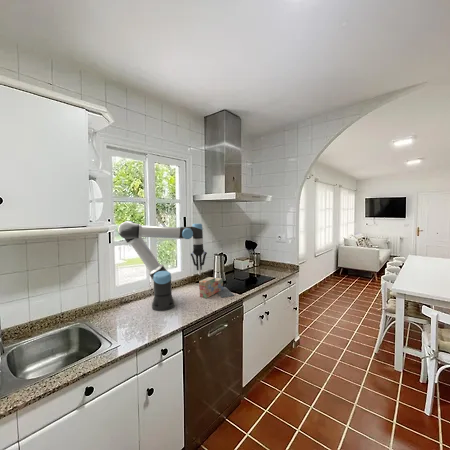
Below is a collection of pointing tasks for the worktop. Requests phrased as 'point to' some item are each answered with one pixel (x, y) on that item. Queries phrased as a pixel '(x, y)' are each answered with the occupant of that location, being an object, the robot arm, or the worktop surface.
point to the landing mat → (225, 293)
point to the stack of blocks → (210, 286)
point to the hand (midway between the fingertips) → (199, 274)
